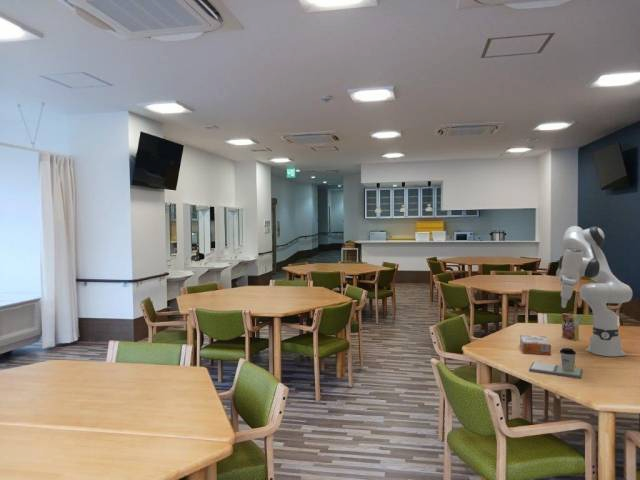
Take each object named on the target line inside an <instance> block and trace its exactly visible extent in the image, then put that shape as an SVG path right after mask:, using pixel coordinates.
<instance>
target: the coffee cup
mask: <svg viewBox="0 0 640 480" xmlns="http://www.w3.org/2000/svg"><path fill="white" fill-rule="evenodd" d="M559 353H560V358H561V360H560V361H561V366H562V368H563V370H564V371H574V368H575V363H576V361H575V360H576V356H577V352H576V351H575V350H574V349H573V348H569V347H563V348H561V349H560V351H559Z"/></svg>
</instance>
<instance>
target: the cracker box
mask: <svg viewBox="0 0 640 480" xmlns="http://www.w3.org/2000/svg"><path fill="white" fill-rule="evenodd" d="M519 342H520V346H521V350H522V352H523V353H524V354H531V355H532V354H534V355H546V356H551V355H552V354H551V353H552V350H551V349H552V346H551V343H550V342H549V340H548V338H547V337H546V336H541V335H526V334H525V335H523V334H520V341H519Z"/></svg>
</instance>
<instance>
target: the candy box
mask: <svg viewBox="0 0 640 480" xmlns="http://www.w3.org/2000/svg"><path fill="white" fill-rule="evenodd" d="M579 319H580V318H579V315H576V314H571V313H568V312H567V313H562V314H561V336H562V337H561V338H564V339H569V340H572V341H579V340H580V339H579V336H580V334H579V332H580V330H579V329H580V328H579V327H580V325H579V324H580V321H579Z"/></svg>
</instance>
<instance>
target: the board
mask: <svg viewBox="0 0 640 480" xmlns="http://www.w3.org/2000/svg"><path fill="white" fill-rule="evenodd" d="M528 372H532V373H537V374H538V373H540V374H546V375H552V376H559V377H567V378H573V379H582V377H583V376H582V375H583V373H584V370H583V368H579V367H574V371H564V370H563V368H562V365H558V364H550V363H544V362H536V361H533V362H532V364H531V365H530V367H529V369H528Z"/></svg>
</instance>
